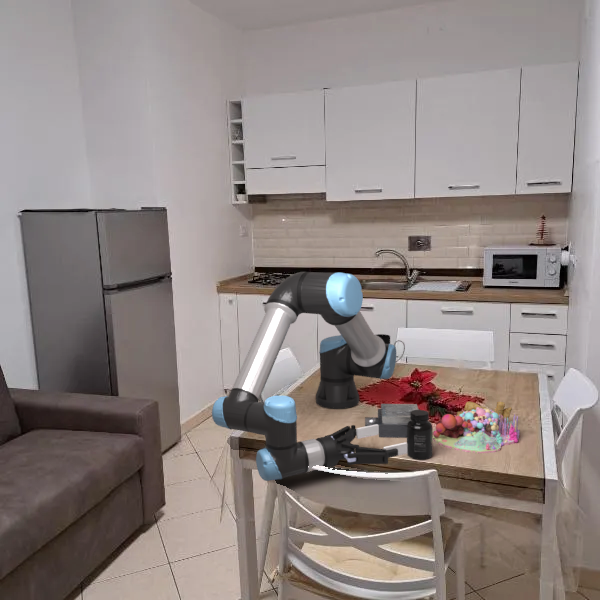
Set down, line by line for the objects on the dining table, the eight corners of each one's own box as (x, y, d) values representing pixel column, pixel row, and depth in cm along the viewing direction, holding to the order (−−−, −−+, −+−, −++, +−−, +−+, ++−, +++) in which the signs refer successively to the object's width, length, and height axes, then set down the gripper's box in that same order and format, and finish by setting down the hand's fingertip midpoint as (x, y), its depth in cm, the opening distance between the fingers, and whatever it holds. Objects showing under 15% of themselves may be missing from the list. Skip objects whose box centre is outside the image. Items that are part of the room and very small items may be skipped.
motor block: (365, 436, 163) (365, 417, 162) (365, 420, 176) (364, 402, 175) (424, 438, 161) (424, 418, 160) (419, 421, 174) (419, 403, 173)
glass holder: (373, 368, 235) (373, 333, 233) (407, 370, 229) (407, 335, 227) (367, 373, 227) (367, 337, 225) (402, 376, 221) (402, 340, 219)
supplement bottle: (437, 454, 150) (437, 411, 148) (424, 462, 145) (424, 419, 144) (415, 447, 155) (415, 406, 153) (401, 455, 150) (401, 413, 148)
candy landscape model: (440, 417, 178) (440, 389, 177) (519, 425, 169) (520, 396, 168) (428, 448, 155) (429, 416, 154) (519, 459, 146) (520, 426, 145)
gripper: (298, 449, 149) (367, 435, 157) (342, 490, 126) (419, 471, 135) (298, 422, 148) (367, 409, 156) (341, 459, 125) (420, 441, 134)
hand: (391, 438), depth 146 cm, fingers open, 13 cm apart
